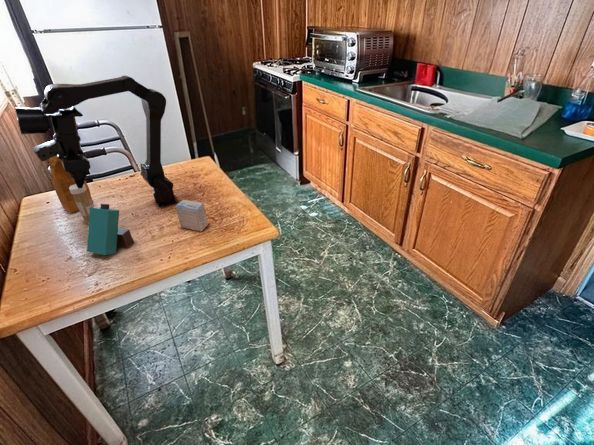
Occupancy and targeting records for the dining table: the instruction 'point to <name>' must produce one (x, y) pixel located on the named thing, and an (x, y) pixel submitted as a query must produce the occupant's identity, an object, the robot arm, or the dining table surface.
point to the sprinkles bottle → (82, 200)
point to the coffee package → (64, 184)
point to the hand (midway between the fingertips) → (77, 182)
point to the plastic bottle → (102, 230)
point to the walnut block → (124, 238)
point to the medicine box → (192, 215)
